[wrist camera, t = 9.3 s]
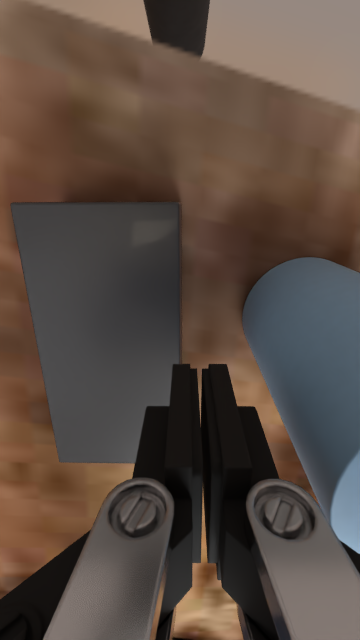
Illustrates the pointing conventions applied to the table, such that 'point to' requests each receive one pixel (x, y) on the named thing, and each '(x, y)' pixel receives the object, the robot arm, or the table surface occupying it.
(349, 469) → the bottle
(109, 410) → the block
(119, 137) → the table surface
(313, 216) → the table surface
